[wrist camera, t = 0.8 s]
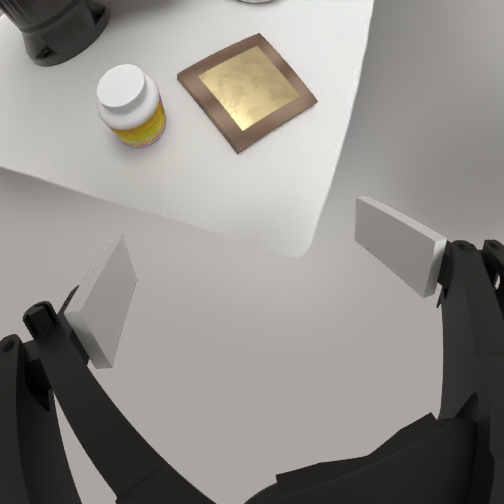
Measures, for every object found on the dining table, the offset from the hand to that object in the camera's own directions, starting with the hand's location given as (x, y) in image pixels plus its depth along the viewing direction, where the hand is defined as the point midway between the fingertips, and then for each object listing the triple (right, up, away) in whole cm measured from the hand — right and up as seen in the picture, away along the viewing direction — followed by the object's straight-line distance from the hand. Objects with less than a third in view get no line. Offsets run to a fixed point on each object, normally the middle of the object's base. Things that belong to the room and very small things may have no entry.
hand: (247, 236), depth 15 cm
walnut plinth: (0, +22, +19) cm, 29 cm away
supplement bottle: (-14, +16, +17) cm, 27 cm away
